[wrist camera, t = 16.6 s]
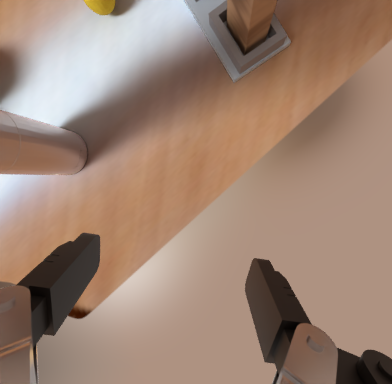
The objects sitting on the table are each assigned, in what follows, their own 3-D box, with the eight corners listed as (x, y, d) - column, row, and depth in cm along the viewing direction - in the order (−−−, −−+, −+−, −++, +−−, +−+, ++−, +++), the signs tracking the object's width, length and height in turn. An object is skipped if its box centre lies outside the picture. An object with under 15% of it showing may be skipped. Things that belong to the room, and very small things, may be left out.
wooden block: (265, 41, 36) (290, -44, 22) (244, 56, 36) (256, -19, 22) (247, 12, 36) (260, -92, 22) (226, 27, 36) (227, -66, 22)
